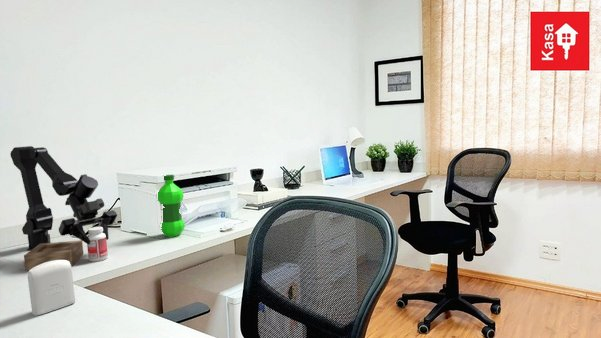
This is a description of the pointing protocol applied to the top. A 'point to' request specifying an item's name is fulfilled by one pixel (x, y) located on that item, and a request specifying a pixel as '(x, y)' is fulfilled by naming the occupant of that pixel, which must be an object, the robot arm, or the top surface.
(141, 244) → the top surface
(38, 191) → the robot arm
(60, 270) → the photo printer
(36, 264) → the wooden tray
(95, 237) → the pill bottle
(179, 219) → the plastic bottle
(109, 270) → the top surface
